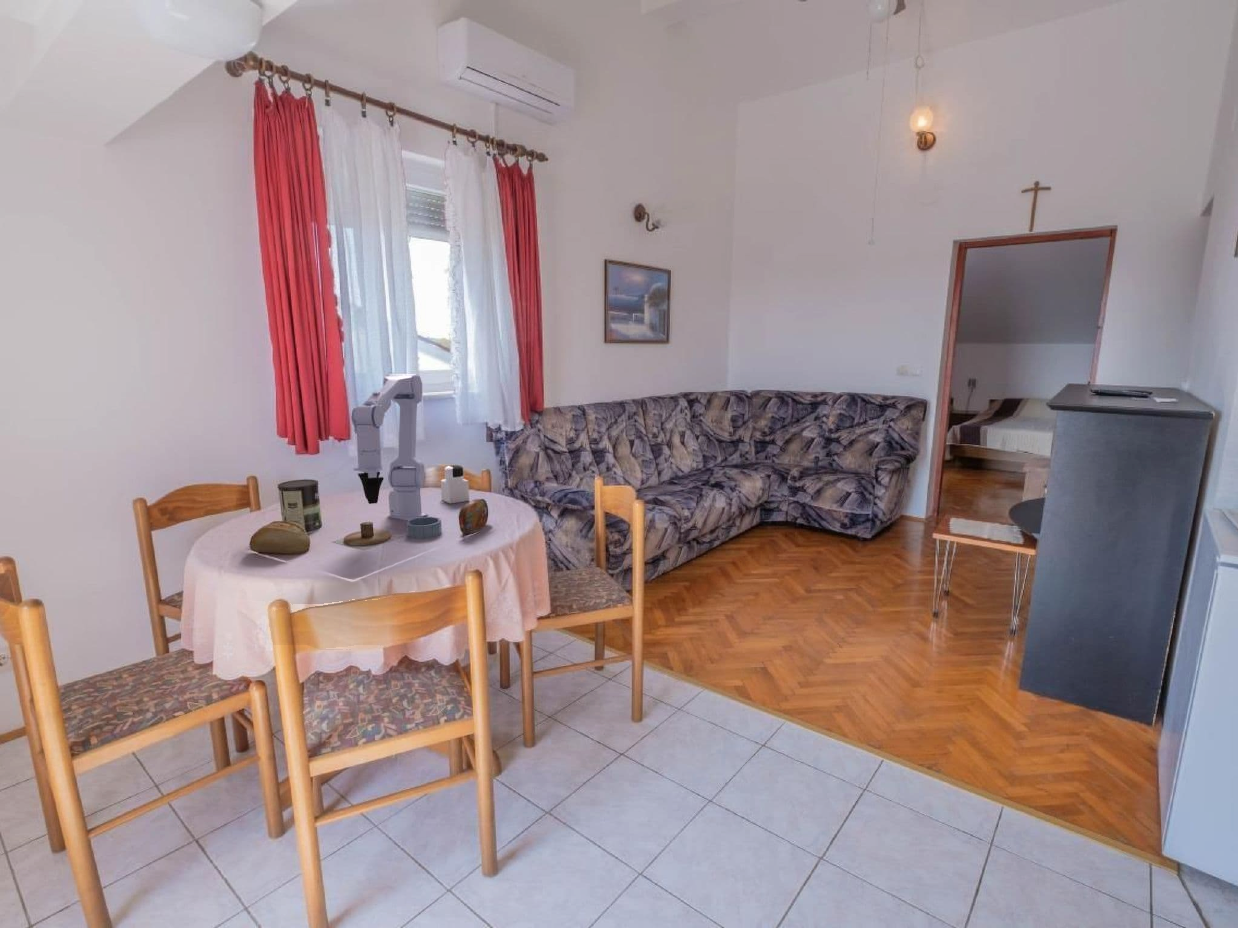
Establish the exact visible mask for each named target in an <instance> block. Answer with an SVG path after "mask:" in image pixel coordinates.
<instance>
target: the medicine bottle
mask: <svg viewBox="0 0 1238 928" xmlns="http://www.w3.org/2000/svg"><path fill="white" fill-rule="evenodd" d="M469 488H470V485H469V480H468V479H465V478H464V467H463V466H462V465H459V464H458V465H457V464H456V465H455V464H453V465H448V466H446V467H444V479H441V480H440V490H441V491H440V495H441V500H442V501H444V502H446V503H447V504H450V505H451V503H452V504H457V503H458V504H459V503H463V502H469V501H470V489H469Z"/></svg>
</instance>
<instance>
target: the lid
mask: <svg viewBox="0 0 1238 928" xmlns="http://www.w3.org/2000/svg"><path fill="white" fill-rule="evenodd" d="M359 526H360V530H359V531H355V532H351V533H349V534H347V535H345V536H344V537H343V538H344V543H345V544H347V545H350V546H369V545H375V544H379V543H383V542H385V541H387V540H389V539H390V538H391V534H392V532H391V531H389V530H385V529H374V523H373V521H372V522H371V521H365V522H361V523H360V524H359ZM383 544H384V543H383Z"/></svg>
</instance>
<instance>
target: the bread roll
mask: <svg viewBox="0 0 1238 928" xmlns="http://www.w3.org/2000/svg"><path fill="white" fill-rule="evenodd" d="M308 534H309V533H306V531H305V529H304V528H303V527H302V526H301V525H300V524H298V523H296V522H292V521H282V520H278V521H272V522H269V523H268V524H267V525H263V526H262V527H261V528H259V529H258V530H257V531H255V532H254V533H253V534H252V535H251V537H250V541H249V548H250V550H251V551H252V552H255V553H268V554H272V553H273V554H285V555H299V554H303V553H305V552H307V551H309V549H310V548H311V539H310V537H309V535H308Z"/></svg>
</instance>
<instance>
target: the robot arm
mask: <svg viewBox="0 0 1238 928" xmlns="http://www.w3.org/2000/svg"><path fill="white" fill-rule="evenodd" d="M382 384H383V385H382V387H381V389H380V390H379V391H373V392H372V394H371V395H370V396H369V397H368V398H367V399H366V400H365V401H364V402H363V404H362V405H356V406H355V407H354V408H353V409H352V411H351V417H350V418H351V423H352V425H353V431H354V433H355V434H356V442H357V444H356V447H357V448H356V449H357V450H356V451H357V466H354V467H353V472H354V471H357V472H360V473H357V475H358V478H359V480H360V481H361V485H362V489H363V493H364V497H365V499H366V500H367V502H368V504H369V505H371V504H373V505H374V504H378V501H379V495H380V491H381V490H380V489H381V486H382V483H383V482H384V476H380V474H381V472H380V471H383V466H382V455H381V454H382V452H381V451H382V450H381V448H382V447H381V428H380V427H381V426H383V423H384V419H385V414H386V413H387V412H388V410H389V408H390V407H391V406H392V402H393V403H396V404H397V405H398V406H399V425H398V426H399V428H398V429H399V430H398V456H397V458H396V459H394V460H393V461H391V463H390V465H389V471H388V474H387V480H388V484H389V486H390V487H391V488H392V489H391V490H390V491H389V493H388V507H389V515H387V517H390V518H393V519H394V518H395V519H400V520H404V521H409V520H411V519H414V518H420V517H428V516H429V513H427V512H422V499H421V497H422V496H421V489H422V488H423V487H424V486H425V483H426V479H427V477H426V472H425V471H426V470H425V464H424V463H423V462H422V461H421V460H419V458H417V457H416V446H417V443H416V442H417V412H418V410H417V409H418V404H420V403H421V402H422V398H423V381H422V378H421V376H420V375H419V374H418V373H414V374H413V373H411V374H410V373H401V374H400V373H395V374H394V373H387V374H385V375H384V377H383V383H382Z"/></svg>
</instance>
